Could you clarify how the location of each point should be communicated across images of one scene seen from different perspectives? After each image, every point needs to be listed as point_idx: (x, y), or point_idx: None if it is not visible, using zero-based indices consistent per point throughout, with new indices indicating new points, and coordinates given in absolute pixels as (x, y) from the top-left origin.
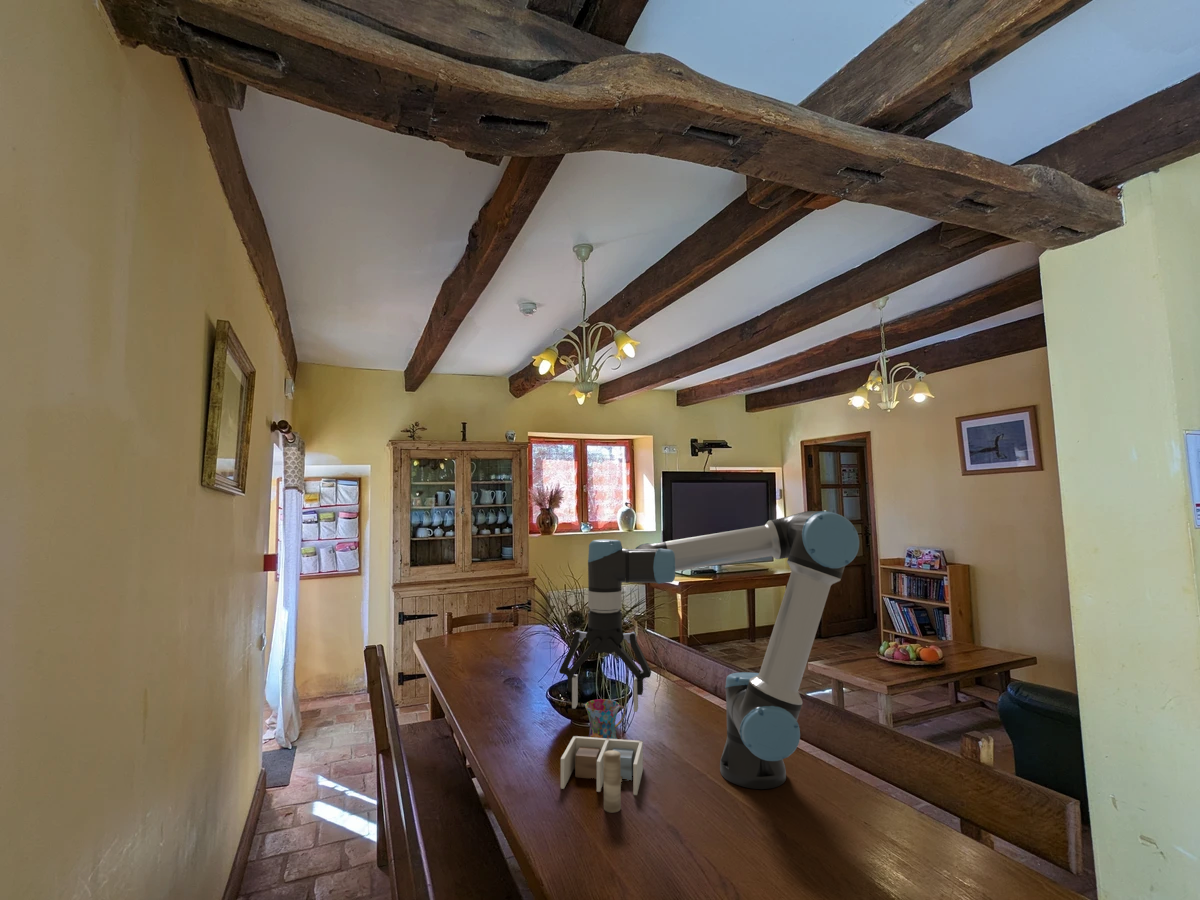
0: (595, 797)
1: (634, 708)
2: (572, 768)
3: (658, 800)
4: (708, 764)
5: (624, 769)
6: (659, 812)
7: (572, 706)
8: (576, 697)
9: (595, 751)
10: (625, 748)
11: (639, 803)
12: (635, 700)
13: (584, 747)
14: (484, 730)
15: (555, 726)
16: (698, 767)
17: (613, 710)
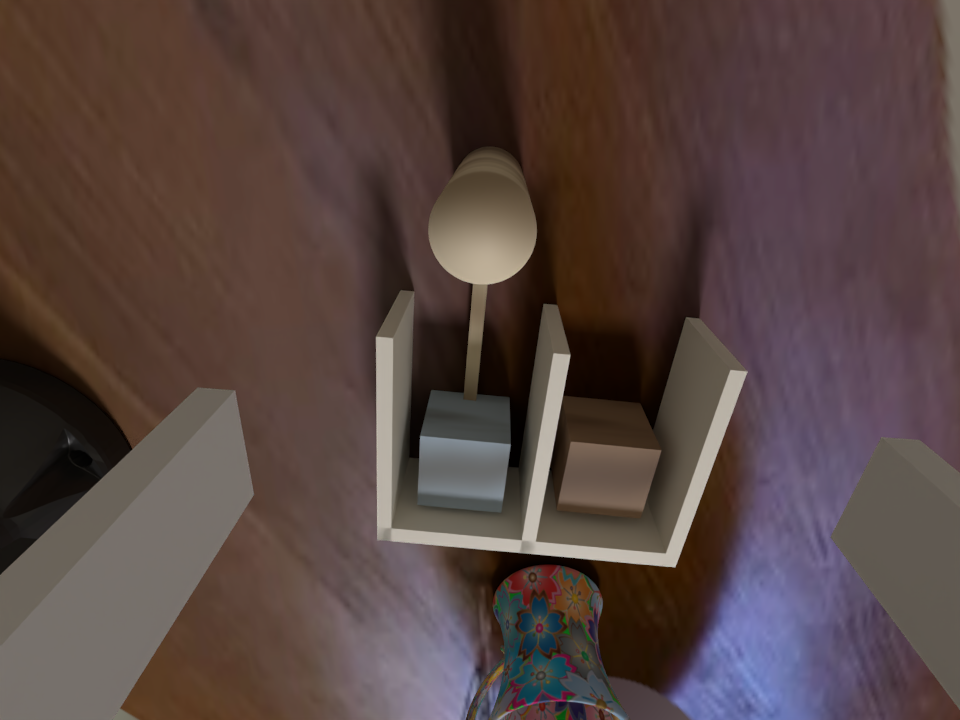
0: (560, 262)
1: (208, 406)
2: None
3: (315, 258)
4: None
5: (453, 413)
6: (299, 166)
7: (929, 452)
8: (923, 562)
9: (574, 484)
10: (452, 513)
11: (385, 230)
12: (142, 465)
13: (621, 513)
14: None
15: (703, 694)
16: None
17: (508, 705)
